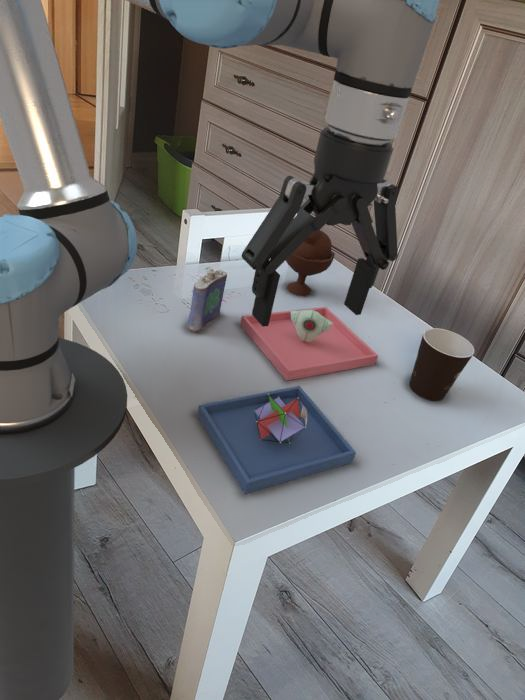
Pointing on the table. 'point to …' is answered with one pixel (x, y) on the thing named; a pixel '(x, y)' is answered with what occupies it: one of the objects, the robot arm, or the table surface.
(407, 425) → the table surface
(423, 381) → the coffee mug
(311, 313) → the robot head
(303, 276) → the ice cream bowl
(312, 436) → the blue tray
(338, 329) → the rose tray
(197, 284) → the flask
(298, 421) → the wire icosahedron model
